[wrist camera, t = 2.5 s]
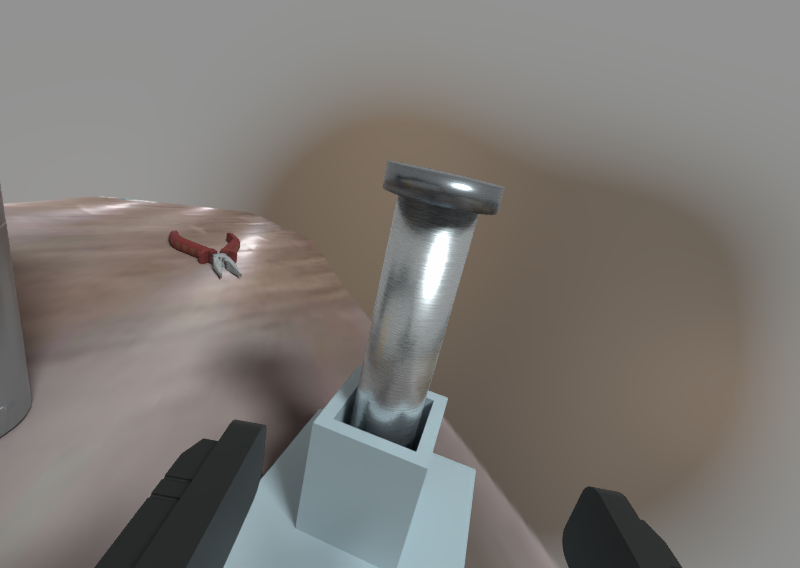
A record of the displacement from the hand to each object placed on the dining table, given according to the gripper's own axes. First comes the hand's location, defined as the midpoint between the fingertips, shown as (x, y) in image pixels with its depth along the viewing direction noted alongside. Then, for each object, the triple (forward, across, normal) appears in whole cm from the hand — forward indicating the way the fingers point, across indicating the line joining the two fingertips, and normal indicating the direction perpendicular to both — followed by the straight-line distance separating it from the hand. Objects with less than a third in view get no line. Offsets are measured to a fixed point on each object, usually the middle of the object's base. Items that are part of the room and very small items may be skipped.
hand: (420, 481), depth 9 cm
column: (+11, 0, +14) cm, 18 cm away
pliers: (+54, +33, +16) cm, 65 cm away
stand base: (+11, 0, +16) cm, 20 cm away
